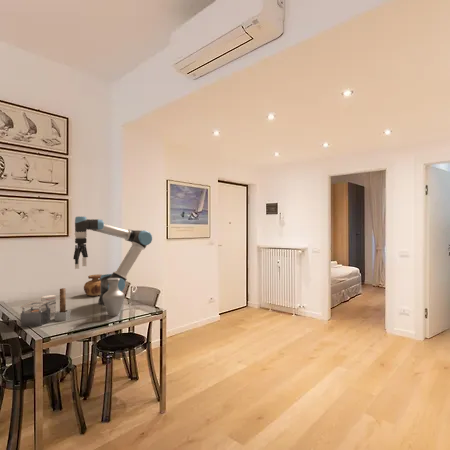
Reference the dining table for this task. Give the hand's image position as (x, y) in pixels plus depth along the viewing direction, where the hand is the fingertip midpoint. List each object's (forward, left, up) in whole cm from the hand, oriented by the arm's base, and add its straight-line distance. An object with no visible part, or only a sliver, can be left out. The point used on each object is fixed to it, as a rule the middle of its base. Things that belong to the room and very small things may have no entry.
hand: (80, 267), depth 226 cm
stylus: (+5, +18, -32) cm, 37 cm away
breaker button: (+18, +26, -29) cm, 43 cm away
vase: (-26, +11, -32) cm, 43 cm away
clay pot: (+8, -56, -32) cm, 65 cm away
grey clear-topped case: (+18, +26, -32) cm, 45 cm away
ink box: (+22, +1, -32) cm, 39 cm away
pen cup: (+5, +18, -32) cm, 37 cm away
